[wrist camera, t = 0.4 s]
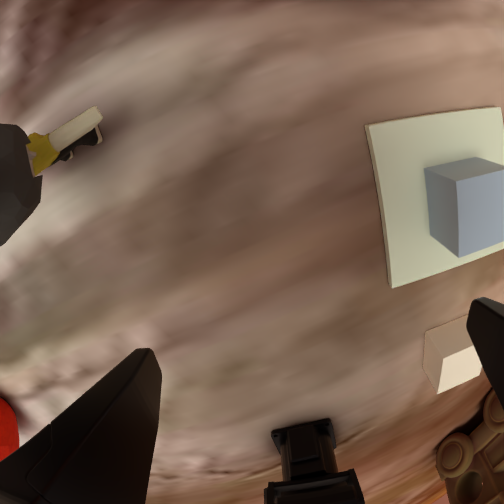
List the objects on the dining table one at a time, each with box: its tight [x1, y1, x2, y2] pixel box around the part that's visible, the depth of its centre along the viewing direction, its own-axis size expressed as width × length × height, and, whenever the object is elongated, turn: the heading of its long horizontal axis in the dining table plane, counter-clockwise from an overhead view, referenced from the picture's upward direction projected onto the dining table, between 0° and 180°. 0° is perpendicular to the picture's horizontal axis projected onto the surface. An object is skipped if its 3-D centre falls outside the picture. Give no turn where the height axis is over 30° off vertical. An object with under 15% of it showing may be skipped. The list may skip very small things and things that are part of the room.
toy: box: [0, 106, 103, 246], centre depth 12 cm, size 8×5×15 cm, turn 108°
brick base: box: [424, 157, 504, 258], centre depth 18 cm, size 5×5×4 cm
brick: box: [423, 315, 482, 394], centre depth 25 cm, size 5×5×4 cm
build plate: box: [364, 106, 504, 288], centre depth 20 cm, size 12×12×1 cm
